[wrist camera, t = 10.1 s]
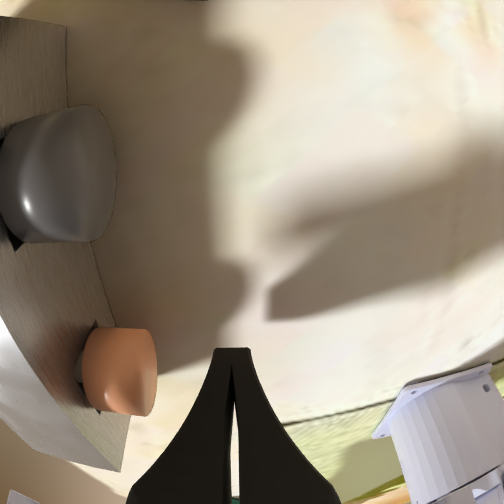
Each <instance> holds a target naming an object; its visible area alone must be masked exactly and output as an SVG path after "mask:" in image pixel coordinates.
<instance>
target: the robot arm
mask: <svg viewBox="0 0 504 504" xmlns="http://www.w3.org/2000/svg"><path fill="white" fill-rule="evenodd" d="M492 367H493V366H492V364H491V363H487V364H485V365H482V366H478V367H475V368H472V369H469V370H466V371H463V372H459V373H456V374H452V375H449V376H445V377H441V378H438V379H434V380H430V381H426V382H422V383H418V384H413V385H409V386H406V387H404V388H403V389H402V390H401V392H400V393H399V395H398V397H397V398H396V400H395V401H394V403H393V404H392V406H391V407H390V409H389V410H388V412H387V413H386V415H385V416H384V418H383V419H382V421H381V422H380V424H379V425H378V426H377V428H376V429H375V431H374V432H373V433H372V435H371V436H372V438H373V439H378V438H382V437H386V436H390V435H391V436H392V439H393V442H394V445H395V449H396V451H397V455H398V458H399V461H400V464H401V468H402V471H403V475H404V478H405V481H406V485H407V488H408V492H409V496H410V499H411V503H412V504H504V466H503V465H504V400H503V398H502V396H501V394H500V392H499V391H498V389H497V387H496V385H495V384H494V382H493V380H492V378H491V377H490V375H489V372H490V370H491V369H492ZM234 401H235V409H236V418H237V426H238V440H239V497H240V504H341V502H340V499H339V497H338V495H337V493H336V491H335V489H334V488H333V486H332V485H331V484H330V483H329V482H328V481H327V480H326V479H325V478H324V477H323V476H322V475H321V474H320V473H319V472H318V471H317V470H316V469H315V467H314V466H313V465H312V464H311V463H310V462H309V461H308V460H307V459H306V457H305V456H304V455H303V454H302V452H301V451H300V450H299V448H298V447H297V446H296V445H295V443H294V442H293V441H292V439H291V438H290V436H289V435H288V434H287V432H286V431H285V429H284V428H283V426H282V424H281V423H280V421H279V420H278V418H277V416H276V414H275V413H274V411H273V409H272V407H271V405H270V403H269V401H268V399H267V397H266V395H265V393H264V391H263V388H262V386H261V384H260V381H259V379H258V376H257V373H256V371H255V368H254V364H253V361H252V356H251V350H250V349H249V348H248V347H246V348H216V349H214V352H213V357H212V360H211V364H210V367H209V370H208V373H207V375H206V378H205V380H204V383H203V385H202V388H201V390H200V392H199V394H198V397H197V399H196V401H195V403H194V405H193V407H192V409H191V410H190V412H189V414H188V416H187V418H186V419H185V421H184V423H183V424H182V426H181V428H180V429H179V431H178V432H177V434H176V435H175V437H174V438H173V440H172V441H171V442H170V444H169V445H168V447H167V448H166V449H165V451H164V452H163V453H162V454H161V455H160V457H159V458H158V459H157V460H156V461H155V463H154V464H153V465H152V466H151V467H150V468H149V469H148V471H147V472H146V473H145V474H144V475H143V476H142V477H141V478H140V479H139V480H138V481H137V482H136V483H135V484H134V485H133V486H132V488H131V490H130V492H129V494H128V497H127V501H126V504H232V493H231V460H230V452H231V436H232V424H233V412H234ZM7 504H40V503H38V502H36V501H35V500H33V499H31V498H29V497H26V496H24V495H22V494H20V493H18V492H15V491H14V490H10V493H9V497H8V501H7Z"/></svg>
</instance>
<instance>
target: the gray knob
mask: <svg viewBox="0 0 504 504" xmlns="http://www.w3.org/2000/svg"><path fill="white" fill-rule="evenodd" d="M116 179H117V173H116V156H115V149H114V143H113V139H112V134H111V131H110V128H109V125H108V123H107V121H106V119H105V117H104V115H103V114H102V113H101V111H100V110H99V109H98V108H96V107H95V106H93V105H89V104H86V105H80V106H75V107H71V108H66V109H62V110H58V111H54V112H50V113H46V114H42V115H39V116H35V117H32V118H28V119H25V120H23V121H21V122H19V123H18V124H16V125H15V126H14V127H13V128H12V129H11V131H10V132H9V133H8V135H7V136H6V138H5V140H4V142H3V144H2V147H1V149H0V211H1V214H2V216H3V219H4V221H5V223H6V224H7V226H8V228H9V229H10V230H11V232H12V233H13V234H14V235H15V236H16V237H17V238H19V239H20V240H22V241H24V242H27V243H56V242H84V241H94V240H97V239H98V238H99V237H101V235H102V234H103V233H104V232H105V230H106V228H107V226H108V224H109V221H110V219H111V215H112V212H113V207H114V202H115V195H116Z"/></svg>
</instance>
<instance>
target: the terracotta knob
mask: <svg viewBox="0 0 504 504" xmlns="http://www.w3.org/2000/svg"><path fill="white" fill-rule="evenodd" d="M72 374H73V376H74V378H75V379H76V381H77V382H81V383H83V386H84V390H85V393H86V396H87V398H88V400H89V402H90V404H91V405H92V406H93V407H94V408H95V409H97V410H99V411H106V412H112V413H120V414H127V415H136V416H148V415H149V414H150V412H151V411H152V408H153V405H154V402H155V397H156V390H157V359H156V351H155V346H154V342H153V339H152V336H151V334H150V332H149V331H148V330H146V329H132V328H113V327H97V328H95V329H94V330H93V331H92V332H91V334H90V335H89V337H88V339H87V342H86V344H85V348H84V351H81V353H80V355H79V358H78V360H77V363H76V365H75V368H74V370H73V373H72Z"/></svg>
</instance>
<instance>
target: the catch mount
mask: <svg viewBox="0 0 504 504" xmlns="http://www.w3.org/2000/svg"><path fill="white" fill-rule="evenodd" d="M66 108H68V103H67V87H66V26H61V25H56V24H51V23H46V22H40V21H35V20H28V19H22V18H14V17H6V16H0V149H1V147H2V144H3V142H4V140H5V138H6V136H7V135H8V133H9V132H10V131H11V129H12V128H13V127H14V126H15V125H16V124H18V123H19V122H21V121H23V120H25V119H28V118H32V117H35V116H39V115H42V114H46V113H50V112H54V111H58V110H62V109H66ZM97 327H113V328H117V327H116V325H115V322H114V319H113V316H112V313H111V310H110V307H109V304H108V301H107V298H106V295H105V292H104V289H103V286H102V282H101V279H100V276H99V272H98V269H97V265H96V262H95V258H94V254H93V250H92V247H91V243H90V241H84V242H56V243H27V242H24V241H22V240H20V239H19V238H17V237H16V236H15V235H14V234H13V233H12V232H11V230H10V229H9V228H8V226H7V224H6V223H5V221H4V219H3V216H2V214H1V211H0V418H1V419H2V420H3V421H4V422H5V423H6V424H7V425H8V426H9V427H10V428H11V429H12V430H13V431H14V432H15V433H16V434H17V435H18V436H19V437H20V438H22V439H23V440H24V441H25V442H26V443H27V444H28V445H29V446H30V447H32V448H33V449H34V450H37V451H39V452H43V453H45V454H48V455H52V456H55V457H58V458H61V459H65V460H68V461H72V462H76V463H80V464H84V465H88V466H92V467H96V468H101V469H105V470H110V471H115V472H121V466H122V460H123V454H124V448H125V443H126V438H127V432H128V427H129V422H130V417H131V415H127V414H120V413H112V412H106V411H99V410H97V409H95V408H94V407H93V406H92V405H91V404H90V402H89V400H88V398H87V396H86V393H85V390H84V386H83V383H81V382H77V381H76V379H75V378H74V376H73V374H72V373H73V370H74V368H75V365H76V363H77V360H78V358H79V355H80V353H81V351H84V348H85V344H86V342H87V339H88V337H89V335H90V334H91V332H92V331H93V330H94V329H95V328H97Z"/></svg>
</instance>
